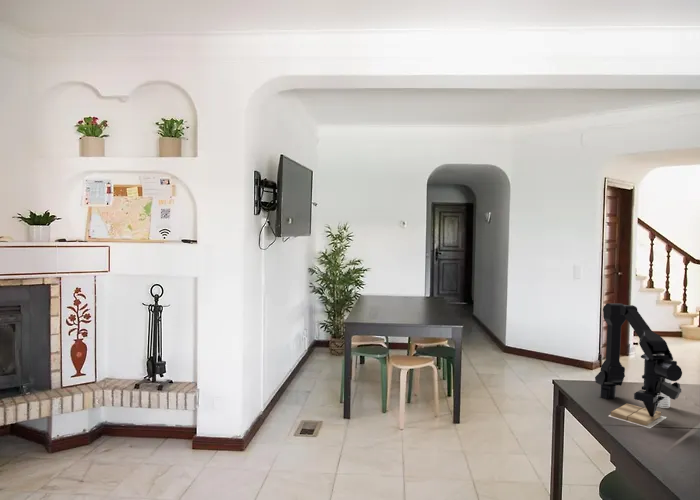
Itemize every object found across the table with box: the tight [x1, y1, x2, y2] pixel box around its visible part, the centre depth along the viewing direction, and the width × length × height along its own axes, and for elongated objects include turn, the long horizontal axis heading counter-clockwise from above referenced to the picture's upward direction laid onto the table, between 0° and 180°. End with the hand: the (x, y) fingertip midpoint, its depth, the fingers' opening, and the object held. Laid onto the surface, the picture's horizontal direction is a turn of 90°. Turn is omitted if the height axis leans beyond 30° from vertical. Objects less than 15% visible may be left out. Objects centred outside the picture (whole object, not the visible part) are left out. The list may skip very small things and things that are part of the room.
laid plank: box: [610, 403, 643, 421], centre depth 188 cm, size 15×6×2 cm, turn 131°
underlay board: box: [608, 414, 668, 429], centre depth 185 cm, size 17×14×1 cm
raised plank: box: [628, 407, 662, 425], centre depth 184 cm, size 15×6×2 cm, turn 131°
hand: (651, 416), depth 182 cm, fingers closed, pressing on raised plank
